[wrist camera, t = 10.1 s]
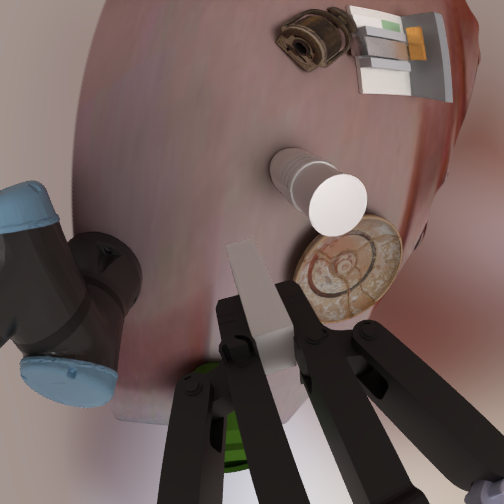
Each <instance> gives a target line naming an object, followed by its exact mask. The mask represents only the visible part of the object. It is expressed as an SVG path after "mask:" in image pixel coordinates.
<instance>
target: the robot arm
mask: <svg viewBox="0 0 504 504" xmlns="http://www.w3.org/2000/svg"><path fill="white" fill-rule="evenodd" d="M59 220H60V218H59V216H58V215H57V214H56V212H55V210H54V208H53V205H52V203H51V201H50V198H49V195H48V193H47V190H46V188H45V187H44V186H43V185H42V184H41V183H39V182H37V181H26V182H22V183H19V184H16V185H13V186H10V187H8V188H5V189H3V190H0V348H1V347H2V346H3V345H4V344H5V343H6V342H7V341H8V340H9V339H11V340H12V341H13V342H14V343H15V344H16V346H17V347H18V349H19V350H20V351H21V352H22V354H23V359H22V360H21V362H20V372H21V377H22V379H23V380H24V382H25V383H26V384H27V385H28V386H29V387H30V388H31V389H33V390H34V391H35V392H37V393H39V394H40V395H42V396H44V397H46V398H48V399H50V400H53V401H55V402H58V403H61V404H65V405H69V406H74V407H83V408H86V407H87V408H91V407H98V406H102V405H104V404H106V403H107V402H108V401H109V400H110V399H112V397H113V395H114V390H115V386H116V381H117V379H118V373H117V368H118V359H119V351H120V344H121V336H122V330H123V323H124V318H125V316H126V315H127V313H128V312H129V309H130V308H131V307H132V306H133V305H134V304H135V302H136V300H137V299H138V296H139V294H140V290H141V284H142V271H141V267H140V264H139V262H138V260H137V258H136V256H135V255H134V253H133V252H132V251H131V250H130V249H129V248H128V247H127V246H126V245H125V244H124V243H122V242H121V241H119V240H118V239H116V238H114V237H112V236H110V235H107V234H103V233H97V232H88V233H83V234H80V235H77V236H75V237H73V238H72V239H71V240H70V241H69V242H67V241H66V239H65V236H64V233H63V231H62V228H61V225H60V222H59ZM226 249H227V253H228V257H229V261H230V265H231V269H232V273H233V277H234V280H235V284H236V288H237V291H238V295H236V296H232V297H229V298H225V299H221V300H218V303H217V306H216V314H217V319H218V324H219V330H220V335H221V340H222V341H221V343H220V345H219V353H220V355H221V357H222V361H221V362H220V364H219V365H218V366H217V367H215V368H214V369H212V370H211V371H209V372H207V373H205V374H202V373H197V372H193V373H188V374H186V375H184V376H182V377H181V378H180V380H179V381H178V382H177V385H176V388H175V393H174V398H173V404H172V409H171V415H170V420H169V426H168V432H167V438H166V444H165V451H164V457H163V463H162V470H161V477H160V484H159V492H158V500H157V504H222V498H223V479H224V462H225V445H226V429H227V415H228V414H230V413H231V412H233V411H235V414H236V419H237V423H238V427H239V431H240V435H241V439H242V443H243V447H244V451H245V455H246V459H247V462H248V466H249V470H250V474H251V477H252V481H253V484H254V488H255V491H256V495H257V498H258V501H259V504H310V502H309V499H308V496H307V494H306V491H305V488H304V486H303V483H302V480H301V478H300V475H299V472H298V469H297V466H296V463H295V461H294V458H293V455H292V452H291V449H290V446H289V444H288V441H287V438H286V435H285V432H284V429H283V426H282V423H281V420H280V417H279V414H278V411H277V408H276V405H275V402H274V399H273V396H272V393H271V390H270V387H269V384H268V381H267V378H266V374H270V373H273V372H277V371H280V370H283V369H286V368H290V367H293V366H296V361H297V364H298V366H299V368H300V382H301V384H303V383H304V386H305V388H306V391H307V393H308V396H309V398H310V400H311V403H312V405H313V408H314V410H315V412H316V415H317V417H318V420H319V422H320V425H321V427H322V429H323V432H324V434H325V436H326V439H327V441H328V444H329V446H330V449H331V451H332V454H333V456H334V458H335V461H336V463H337V465H338V468H339V471H340V473H341V475H342V478H343V480H344V483H345V485H346V487H347V490H348V492H349V495H350V497H351V499H352V502H353V504H429V502H428V500H427V498H426V496H425V495H424V493H423V492H422V491H421V490H419V489H417V488H416V487H415V486H414V485H413V484H412V483H411V481H410V479H409V477H408V475H407V473H406V471H405V469H404V467H403V465H402V463H401V461H400V459H399V457H398V455H397V453H396V451H395V449H394V447H393V445H392V443H391V441H390V439H389V437H388V435H387V433H386V431H385V429H384V427H383V426H382V424H381V422H380V420H379V418H378V416H377V414H376V412H375V410H374V408H373V406H372V405H371V403H370V401H369V399H368V397H369V398H370V399H371V400H372V401H373V402H374V403H375V404H376V405H377V406H378V408H379V409H380V410H381V411H382V412H383V413H384V414H385V415H386V416H387V417H388V418H389V419H390V420H391V421H392V422H393V423H394V424H395V425H396V426H397V427H398V429H399V430H400V431H401V432H402V433H403V434H404V435H405V436H406V437H407V438H408V439H409V440H410V441H411V442H412V443H413V444H414V445H415V446H416V447H417V448H418V449H419V450H420V451H421V453H422V454H423V455H424V456H425V457H426V458H427V459H428V460H429V461H430V462H431V463H432V464H433V465H434V466H435V467H436V468H437V469H438V470H439V471H440V472H441V473H442V474H443V475H444V476H445V477H446V478H447V479H448V480H449V481H450V482H452V483H453V484H454V485H456V486H457V487H459V488H460V489H463V490H465V491H468V494H467V495H466V496H465V499H464V501H465V503H466V504H504V436H503V435H502V434H501V433H500V432H499V431H498V430H497V429H496V428H495V427H494V426H493V425H492V424H491V423H490V422H489V421H488V420H487V419H486V418H485V417H484V416H483V415H482V414H481V413H480V412H478V410H476V409H475V408H474V407H473V406H472V405H471V404H470V403H469V402H468V401H467V400H466V399H465V398H464V397H462V396H461V395H460V394H459V393H458V392H457V391H456V390H455V389H454V388H453V387H451V385H449V384H448V383H447V382H446V381H445V380H444V379H443V378H442V377H441V376H439V375H438V374H437V373H436V372H435V371H434V370H433V369H432V368H431V367H429V366H428V365H427V364H426V363H425V362H424V361H422V359H420V358H419V357H418V356H417V355H416V354H415V353H413V352H412V351H411V350H410V349H409V348H408V347H407V346H406V345H404V344H403V343H402V342H401V341H400V340H399V339H397V338H396V337H395V336H394V335H393V334H392V333H391V332H389V331H388V330H387V329H386V328H385V327H383V326H382V325H381V324H380V323H378V322H376V321H373V320H363V321H360V322H358V323H357V324H356V325H355V326H354V328H353V330H332V329H329V328H327V327H326V326H324V325H323V324H322V323H321V322H320V320H319V318H318V317H317V315H316V313H315V311H314V310H313V308H312V306H311V304H310V303H309V301H308V300H307V297H306V296H305V294H304V292H303V290H302V289H301V287H300V285H299V284H297V283H296V282H294V281H293V280H288V281H284V282H281V283H277V284H274V283H273V281H272V279H271V276H270V274H269V272H268V270H267V268H266V266H265V264H264V261H263V259H262V257H261V255H260V253H259V251H258V249H257V246H256V244H255V242H254V240H253V238H249V239H245V240H241V241H237V242H233V243H230V244H226ZM367 396H368V397H367Z"/></svg>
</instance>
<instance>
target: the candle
mask: <svg viewBox="0 0 504 504" xmlns="http://www.w3.org/2000/svg"><path fill="white" fill-rule="evenodd" d="M270 175H271V178H272V181H273V183H274V185H275V186H276V188H277V189H278V190H280V193H281V194H282V195H283V196H284V197H285V198H286V199H287V200H288V201H289V202H290V203H291V204H292V205H293V206H294V207H295V208H296V209H297V210H298V211H300V212H301V213H304V214H305V215H306V216H307V217H308V218H309V221H310V223H311V225H312V226H313V227H314V228H315V230H316V231H318V232H319V233H321V234H322V235H326V236H340V235H343V234H345V233H347V232H349V231H351V230H352V229H353V228H354V227H355V226H356V225H357V224H358V223H359V222H360V220H361V219H362V217H363V215H364V213H365V210H366V206H367V194H366V189H365V187H364V186H363V184H362V182H360V181H359V180H358V179H357V178H356V177H354V176H352V175H350V174H346V173H342V172H340V171H339V170H337V168H336V167H335V166H334V165H332V164H331V163H330V162H328V161H326V160H324V159H322V158H320V157H318V156H316V155H314V154H311V153H308V152H307V151H305V150H303V149H299V148H288V149H283V150H281V151H279V152H278V153H277V154H275V156H274V157H273V158H272V160H271V163H270Z"/></svg>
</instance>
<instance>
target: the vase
mask: <svg viewBox="0 0 504 504" xmlns="http://www.w3.org/2000/svg"><path fill="white" fill-rule="evenodd" d="M219 364H220V363H215V362H213V363H206V364H203V365H200V366H199V367H197V368H196V369H195V370H194V371H193V372H197V373H202V374H205V373H207V372H209V371H211V370H212V369H214V368H215V367H217V366H218V365H219ZM193 372H192V373H193ZM245 469H249V466H248V462H247V459H246V455H245V451H244V447H243V443H242V439H241V435H240V431H239V427H238V423H237V419H236V414H235V411H233V412H231V413H230V414H228V415H227V429H226V445H225V462H224V473H231V472H237V471H241V470H245Z"/></svg>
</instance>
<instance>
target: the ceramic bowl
mask: <svg viewBox="0 0 504 504" xmlns="http://www.w3.org/2000/svg"><path fill="white" fill-rule="evenodd" d="M402 253H403V252H402V241H401V237H400V234H399V233H398V231H397V229H396V228H395V226H394V225H393V224H392V223H391V222H389V221H388V220H386V219H385V218H383V217H380V216H377V215H373V214H364V215H363V217H362V219H361V220H360V222H359V223H358V224H357V225H356V226H355V227H354V228H353V229H352V230H351V231H349V232H347V233H345V234H343V235H340V236H326V235H322V234H321V233H320V234H319V235H317V236H316V237H315V238H314V240H313V241H312V242H311V243H310V244H309V245H308V247H307V248H306V250H305V251H304V253H303V255H302V256H301V258H300V260H299V262H298V265H297V267H296V270H295V273H294V277H293V281H294V282H296V283H297V284H299V285H300V287H301V289H302V290H303V292H304V294H305V296H306V297H307V300H308V301H309V303H310V304H311V306H312V308H313V310H314V311H315V313H316V315H317V317H318V318H319V320H320V322H321V323H326V324H327V323H337V322H341V321H345V320H348V319H351V318H353V317H355V316H357V315H359V314H361V313H363V312H364V311H366V310H367V309H369V308H370V307H371V306H372V305H374V304H375V303H376V302H377V301H378V300H379V299H380V298H381V297H382V296H383V295H384V294H385V292H386V291H387V290H388V288H389V287H390V286H391V284H392V283H393V281H394V279H395V277H396V275H397V273H398V270H399V268H400V264H401V261H402Z"/></svg>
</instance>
